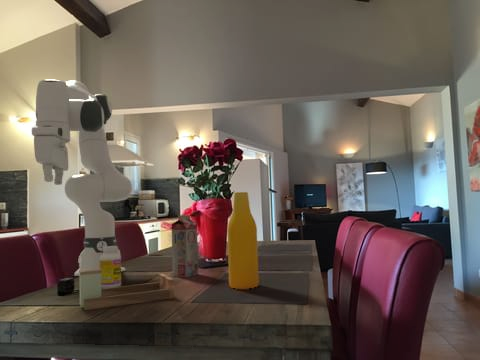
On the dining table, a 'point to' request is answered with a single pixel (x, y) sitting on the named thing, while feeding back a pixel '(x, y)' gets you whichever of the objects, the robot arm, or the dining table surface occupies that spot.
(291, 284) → the dining table surface
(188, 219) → the juice carton
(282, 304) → the dining table surface
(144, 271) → the dining table surface
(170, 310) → the dining table surface
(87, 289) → the cream tall block
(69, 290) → the black box
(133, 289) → the bay
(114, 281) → the supplement bottle
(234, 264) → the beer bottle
